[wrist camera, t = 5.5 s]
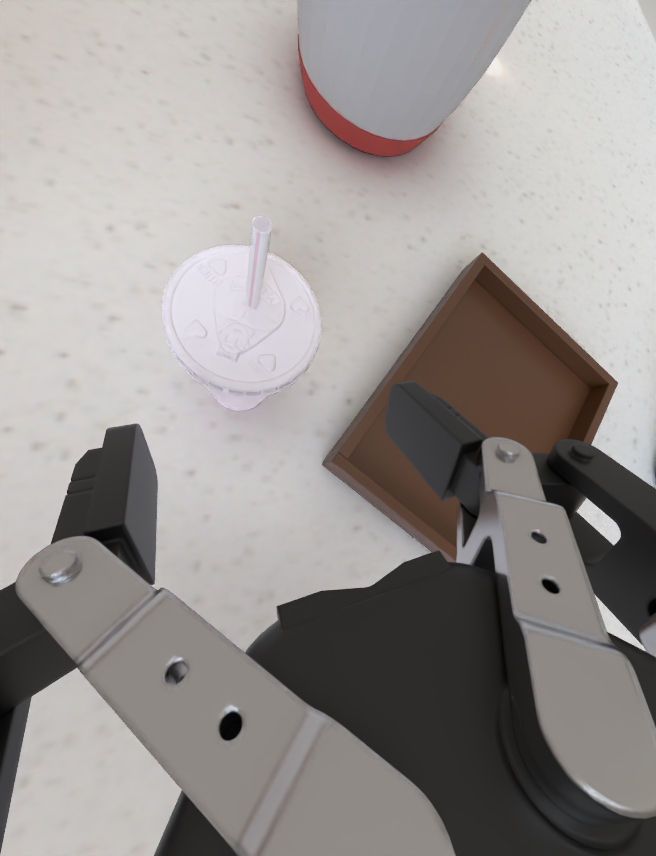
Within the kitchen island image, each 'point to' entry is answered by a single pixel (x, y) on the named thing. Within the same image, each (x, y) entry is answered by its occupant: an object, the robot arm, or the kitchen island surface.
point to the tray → (475, 395)
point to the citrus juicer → (396, 63)
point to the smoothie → (241, 320)
